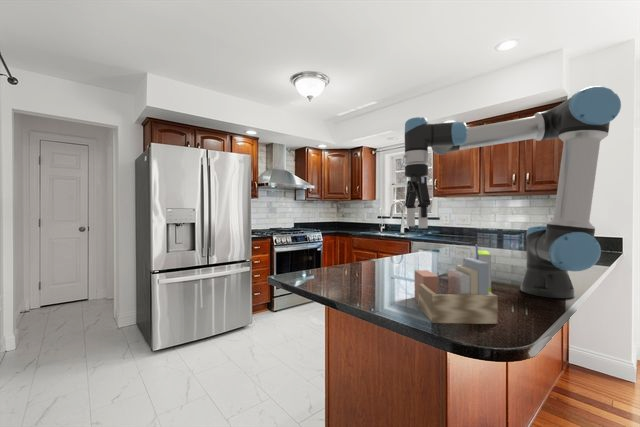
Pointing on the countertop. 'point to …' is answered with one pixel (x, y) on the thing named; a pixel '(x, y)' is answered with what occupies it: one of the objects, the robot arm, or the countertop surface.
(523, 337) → the countertop surface
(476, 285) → the shelved books
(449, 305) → the wooden crate
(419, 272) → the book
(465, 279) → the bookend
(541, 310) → the countertop surface
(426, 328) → the countertop surface
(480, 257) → the box
